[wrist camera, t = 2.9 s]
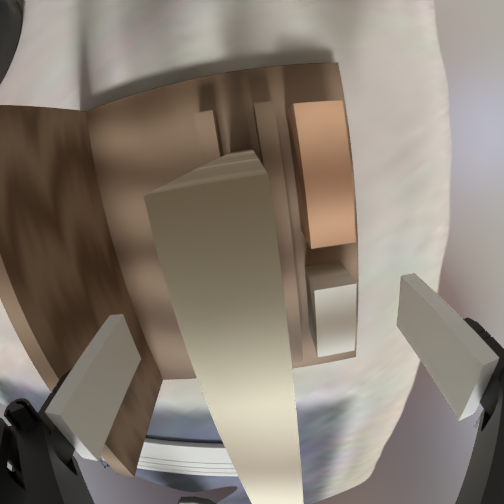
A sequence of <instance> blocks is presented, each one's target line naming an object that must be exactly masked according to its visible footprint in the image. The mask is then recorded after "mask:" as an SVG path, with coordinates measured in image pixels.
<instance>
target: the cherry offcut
mask: <svg viewBox="0 0 504 504" xmlns="http://www.w3.org/2000/svg"><path fill="white" fill-rule="evenodd" d="M285 112H286V118H287V125H288V132H289V138H290V145H291V152H292V160H293V167H294V175H295V183H296V191H297V199H298V208H299V217H300V226H301V232H302V233H303V235H304V237H305V239H306V241H307V242H308V244H309V246H310V248H311V249H314V248H321V247H327V246H334V245H341V244H348V243H354V242H356V235H355V214H354V199H353V185H352V174H351V163H350V154H349V145H348V137H347V129H346V121H345V114H344V108H343V101H342V100H339V101H319V102H305V103H294V104H292V105H291V106H290V107H289V108H288V109H287V110H286V111H285Z"/></svg>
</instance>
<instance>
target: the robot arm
mask: <svg viewBox="0 0 504 504" xmlns="http://www.w3.org/2000/svg"><path fill="white" fill-rule="evenodd" d="M21 22H22V15H21V9H20V6H19V5H18V3H17V2H16V1H15V0H0V83H1V82H2V80H3V78H4V76H5V74H6V72H7V70H8V67H9V65H10V63H11V60H12V58H13V55H14V52H15V49H16V46H17V43H18V39H19V35H20V30H21ZM397 327H398V328H399V329H400V331H401V332H402V334H403V335H404V336H405V338H406V339H407V341H408V342H409V344H410V345H411V347H412V348H413V350H414V351H415V353H416V354H417V356H418V357H419V358H420V360H421V361H422V363H423V364H424V366H425V367H426V369H427V371H428V372H429V374H430V375H431V377H432V378H433V380H434V381H435V383H436V385H437V386H438V388H439V389H440V391H441V392H442V394H443V396H444V397H445V399H446V401H447V402H448V404H449V405H450V407H451V409H452V410H453V412H454V414H455V415H456V417H457V419H458V420H461V419H464V418H466V417H468V416H470V415H472V414H474V413H475V411H476V409H477V407H478V405H479V403H481V405H482V406H483V408H484V410H483V412H482V413H481V415H480V417H479V419H478V420H477V422H476V424H475V427H477V426H478V424H479V427H478V432H477V436H476V440H475V444H474V448H473V452H472V456H471V459H470V463H469V466H468V469H467V473H466V476H465V479H464V482H463V485H462V487H461V490H460V493H459V496H458V498H457V501H456V504H504V349H503V348H502V347H501V346H500V344H499V343H498V342H497V341H496V340H495V339H494V338H493V337H491V335H490V334H489V333H488V332H487V331H485V329H484V328H483V327H482V326H480V324H479V323H477V322H475V321H474V320H472V319H470V318H465V319H462V318H461V317H460V316H459V315H458V314H457V313H456V312H455V311H454V310H453V309H452V308H451V307H450V306H449V305H448V304H447V303H446V302H445V301H444V300H443V299H442V298H441V297H440V296H439V295H438V294H437V293H435V292H434V291H433V290H432V289H431V288H430V287H429V286H428V285H427V284H426V283H425V282H424V281H423V280H421V279H420V278H419V277H418V276H417V275H416V274H415V273H414V274H409V275H404V276H401V282H400V296H399V307H398V317H397ZM140 360H141V357H140V355H139V352H138V350H137V348H136V345H135V343H134V341H133V338H132V336H131V333H130V331H129V328H128V326H127V323H126V321H125V318H124V315H123V314H118V315H110V316H109V317H108V318H107V320H106V321H105V323H104V324H103V325H102V327H101V328H100V329H99V331H98V332H97V334H96V335H95V336H94V338H93V339H92V341H91V342H90V344H89V345H88V346H87V348H86V349H85V351H84V352H83V354H82V355H81V357H80V358H79V360H78V361H77V363H76V364H75V365H74V367H73V368H72V370H69V371H68V372H66V373H65V374H64V375H63V376H62V377H61V378H60V380H59V381H58V383H57V384H56V386H55V387H54V389H53V390H52V393H50V395H49V396H48V398H47V400H46V401H45V403H44V404H43V406H42V407H41V409H40V411H39V412H38V413H37V412H36V411H35V409H34V408H33V406H32V405H31V404H30V402H29V401H28V400H26V399H23V398H20V399H17V400H15V401H13V402H11V403H10V404H9V405H8V406H7V408H6V410H5V412H4V416H5V417H6V418H7V420H8V421H9V422H10V423H11V425H12V426H8V425H7V424H6V423H5V422H4V420H3V419H2V418H0V504H94V502H93V500H92V497H91V495H90V493H89V490H88V489H87V486H86V483H85V481H84V478H83V476H82V473H81V471H80V468H79V466H78V463H77V461H76V459H75V458H74V456H73V452H74V450H76V451H77V452H78V453H79V454H80V455H81V456H82V457H83V458H86V459H91V460H95V461H98V460H99V457H100V455H101V452H102V450H103V447H104V445H105V442H106V440H107V437H108V435H109V432H110V430H111V427H112V425H113V422H114V420H115V417H116V415H117V413H118V410H119V408H120V406H121V403H122V401H123V399H124V396H125V394H126V392H127V389H128V387H129V385H130V382H131V380H132V378H133V376H134V373H135V371H136V369H137V367H138V365H139V362H140ZM7 461H8V462H9V463H10V464H11V465H12V471H10V470H9V469H8V468H7Z"/></svg>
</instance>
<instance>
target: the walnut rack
mask: <svg viewBox="0 0 504 504" xmlns="http://www.w3.org/2000/svg"><path fill="white" fill-rule="evenodd" d="M339 100H342V101H343V108H344V114H345V121H346V129H347V137H348V145H349V154H350V163H351V174H352V185H353V199H354V214H355V235H356V242H354V243H348V244H341V245H334V246H327V247H321V248H314V249H311V248H310V246H309V244H308V242H307V241H306V239H305V237H304V235H303V233H302V232H301V226H300V217H299V208H298V199H297V191H296V183H295V175H294V167H293V160H292V152H291V145H290V138H289V132H288V125H287V118H286V112H285V111H286V110H287V109H288V108H289V107H290V106H291V105H292V104H294V103H305V102H319V101H339ZM252 149H253V151H254V152H255V154H256V155H257V157H258V159H259V160H260V162H261V163H262V165H263V166H264V168H265V170H266V171H267V173H268V177H269V184H270V191H271V198H272V205H273V212H274V219H275V227H276V234H277V242H278V250H279V258H280V266H281V274H282V282H283V290H284V299H285V307H286V316H287V325H288V334H289V343H290V352H291V362H292V368H298V367H304V366H310V365H316V364H322V363H327V362H332V361H338V360H343V359H348V358H352V357H356V344H357V323H358V234H357V213H356V197H355V184H354V172H353V162H352V152H351V143H350V135H349V127H348V120H347V113H346V106H345V100H344V94H343V88H342V82H341V77H340V71H339V66H338V63H310V64H293V65H281V66H271V67H262V68H254V69H246V70H239V71H233V72H227V73H221V74H215V75H210V76H205V77H200V78H195V79H191V80H186V81H182V82H178V83H174V84H170V85H166V86H162V87H158V88H154V89H151V90H147V91H144V92H140V93H137V94H134V95H131V96H128V97H124V98H121V99H118V100H115V101H112V102H110V103H107V104H104V105H101V106H99V107H96V108H93V109H91V110H88V111H79V110H70V109H60V108H48V107H34V106H13V105H0V298H1V301H2V303H3V305H4V308H5V310H6V312H7V314H8V317H9V319H10V321H11V323H12V325H13V327H14V329H15V331H16V333H17V335H18V337H19V339H20V341H21V343H22V345H23V346H24V348H25V350H26V352H27V354H28V355H29V357H30V359H31V361H32V362H33V364H34V366H35V368H36V369H37V371H38V372H39V374H40V376H41V377H42V379H43V380H44V382H45V384H46V385H47V387H48V388H49V390H50V391H51V393H52V390H53V389H54V387H55V386H56V384H57V383H58V381H59V380H60V378H61V377H62V376H63V375H64V374H65V373H66V372H68V371H69V370H72V368H73V367H74V365H75V364H76V363H77V361H78V360H79V358H80V357H81V355H82V354H83V352H84V351H85V349H86V348H87V346H88V345H89V344H90V342H91V341H92V339H93V338H94V336H95V335H96V334H97V332H98V331H99V329H100V328H101V327H102V325H103V324H104V323H105V321H106V320H107V318H108V317H109V316H110V315H118V314H123V315H124V318H125V321H126V323H127V326H128V328H129V331H130V333H131V336H132V338H133V341H134V343H135V345H136V348H137V350H138V352H139V355H140V357H141V360H140V362H139V365H138V367H137V369H136V371H135V373H134V376H133V378H132V380H131V382H130V385H129V387H128V389H127V392H126V394H125V396H124V399H123V401H122V403H121V406H120V408H119V410H118V413H117V415H116V417H115V420H114V422H113V425H112V427H111V430H110V432H109V435H108V437H107V440H106V442H105V445H104V447H103V450H102V452H101V455H100V456H101V457H102V458H103V459H104V460H105V461H106V462H107V463H108V464H109V465H110V466H111V467H112V468H113V469H114V470H115V471H116V472H117V474H120V475H125V476H132V477H135V473H136V469H137V465H138V462H139V458H140V455H141V451H142V448H143V444H144V441H145V437H146V434H147V430H148V427H149V423H150V420H151V417H152V413H153V410H154V407H155V403H156V400H157V397H158V394H159V391H160V387H161V384H162V381H163V380H167V379H192V378H197V377H196V374H195V372H194V369H193V366H192V363H191V360H190V358H189V355H188V352H187V349H186V346H185V343H184V340H183V337H182V334H181V331H180V328H179V325H178V322H177V319H176V316H175V312H174V309H173V306H172V303H171V299H170V296H169V293H168V289H167V286H166V282H165V279H164V275H163V272H162V268H161V265H160V261H159V257H158V253H157V250H156V246H155V242H154V238H153V234H152V230H151V226H150V222H149V217H148V213H147V209H146V204H145V200H144V196H145V195H146V194H148V193H150V192H152V191H154V190H156V189H158V188H159V187H161V186H163V185H165V184H167V183H169V182H171V181H173V180H175V179H177V178H179V177H181V176H183V175H185V174H187V173H189V172H191V171H193V170H195V169H197V168H199V167H201V166H203V165H205V164H207V163H209V162H212V161H214V160H216V159H218V158H220V157H222V156H225V155H227V154H229V153H233V152H239V151H245V150H252ZM334 262H342V264H343V265H344V267H345V268H346V269H347V271H348V272H349V274H350V275H351V276H352V278H353V279H354V281H355V282H356V330H355V350H354V351H349V352H344V353H339V354H334V355H328V356H323V357H317V353H316V350H315V346H314V343H313V340H312V336H311V333H310V329H309V317H308V303H307V290H306V278H305V267H308V266H315V265H321V264H328V263H334Z"/></svg>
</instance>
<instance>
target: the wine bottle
mask: <svg viewBox="0 0 504 504" xmlns="http://www.w3.org/2000/svg"><path fill="white" fill-rule="evenodd" d="M178 504H216V503H214V502H212V501H211V500H209V499H204V498H198V497H181V498H180V500H179V501H178Z"/></svg>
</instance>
